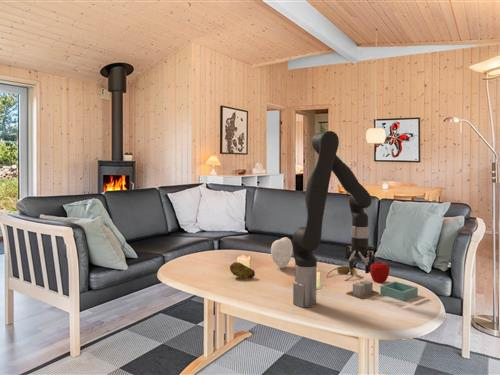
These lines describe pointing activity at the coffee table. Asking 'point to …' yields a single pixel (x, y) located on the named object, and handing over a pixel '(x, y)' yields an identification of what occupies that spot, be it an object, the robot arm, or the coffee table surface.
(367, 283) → the block
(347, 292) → the tray
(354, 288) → the matte taupe cube
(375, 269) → the apple
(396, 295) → the teal open box
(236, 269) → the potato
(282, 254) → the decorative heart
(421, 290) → the coffee table surface
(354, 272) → the sunglasses
